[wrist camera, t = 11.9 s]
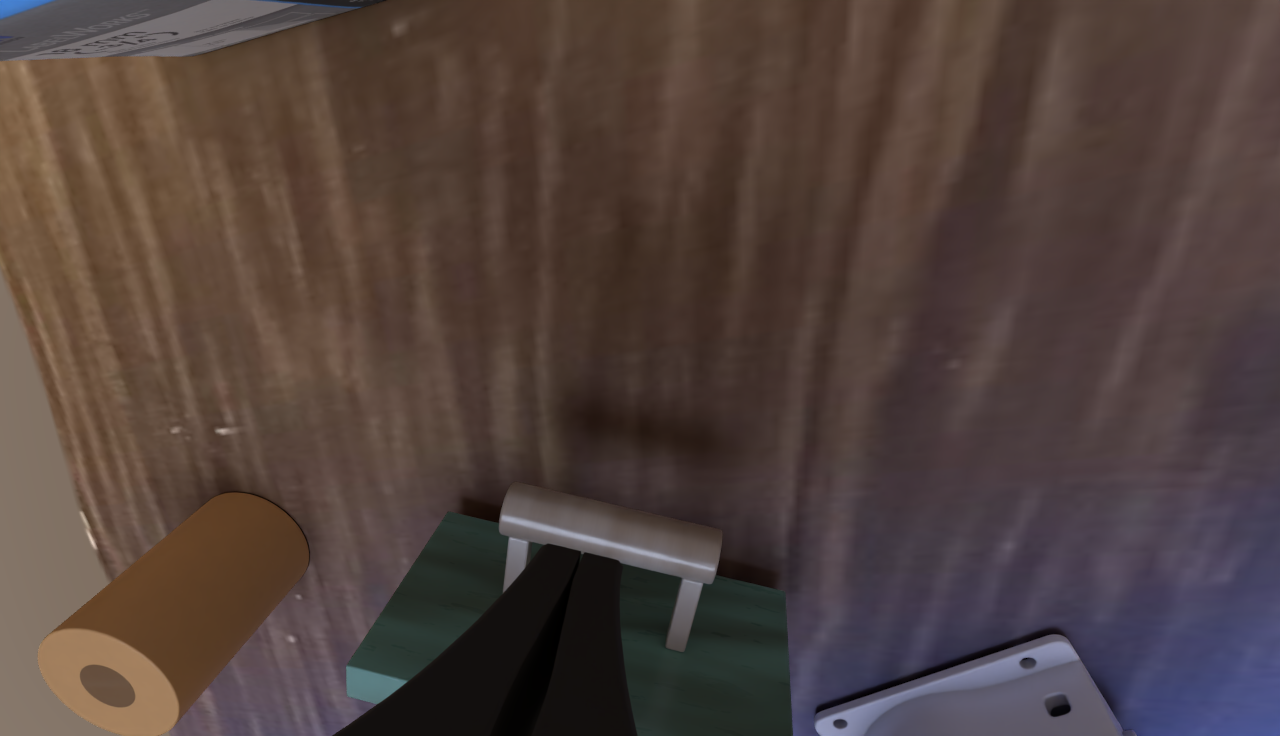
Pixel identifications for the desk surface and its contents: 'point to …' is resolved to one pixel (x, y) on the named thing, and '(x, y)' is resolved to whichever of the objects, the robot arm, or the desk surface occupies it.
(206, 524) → the paper roll
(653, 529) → the drawer
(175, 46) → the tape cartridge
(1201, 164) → the desk surface
